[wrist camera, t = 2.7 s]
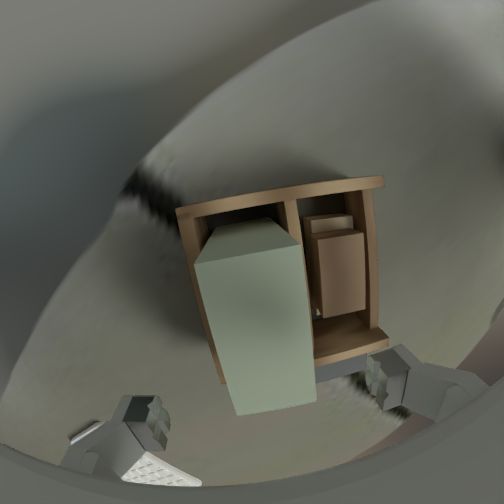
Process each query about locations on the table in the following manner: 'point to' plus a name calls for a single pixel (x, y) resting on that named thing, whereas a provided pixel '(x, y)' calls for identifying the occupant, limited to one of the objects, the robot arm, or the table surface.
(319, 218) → the offcut lower
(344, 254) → the offcut upper
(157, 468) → the calculator
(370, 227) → the rack
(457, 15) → the table surface
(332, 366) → the mat
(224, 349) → the sage green thick block
